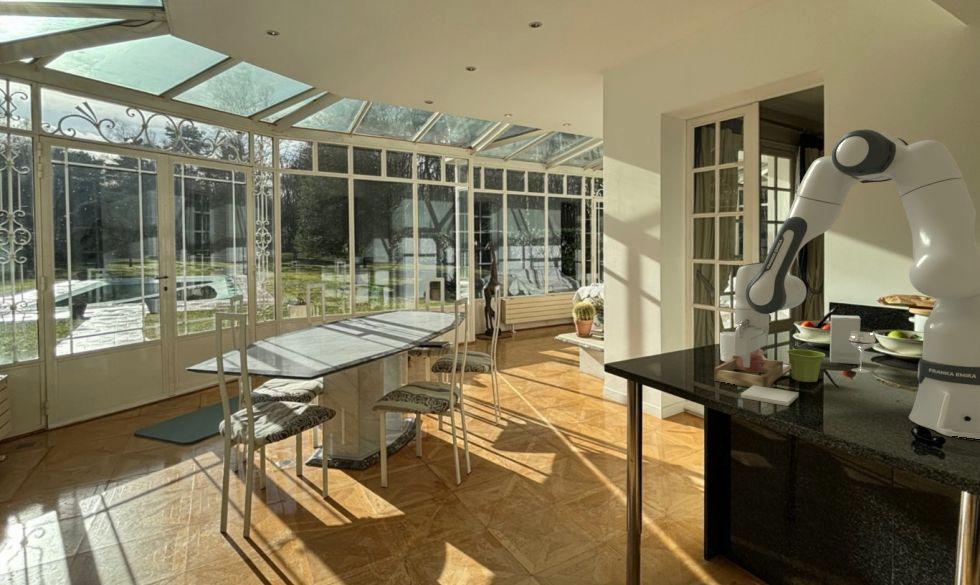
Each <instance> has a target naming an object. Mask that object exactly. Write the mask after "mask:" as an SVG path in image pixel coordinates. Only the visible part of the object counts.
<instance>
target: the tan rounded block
mask: <svg viewBox="0 0 980 585" xmlns="http://www.w3.org/2000/svg"><path fill="white" fill-rule="evenodd" d="M759 355H761V356H760V357H764V356H763V355H764V350H763V349H761V348H760V353H759Z"/></svg>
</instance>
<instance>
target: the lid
mask: <svg viewBox="0 0 980 585" xmlns="http://www.w3.org/2000/svg"><path fill="white" fill-rule="evenodd" d="M788 371H791V362H783V375H785V374H786V373H788Z"/></svg>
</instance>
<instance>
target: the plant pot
mask: <svg viewBox="0 0 980 585" xmlns="http://www.w3.org/2000/svg"><path fill="white" fill-rule="evenodd" d="M786 352H787V354H788V358H789V361H790V362H789V363H791V369H790V371H791V378H792V379H793V380H795V381H799V382H804V383H815V382H818V379H819V374H820V369H821V365H822V362H823V361H824V359H825V357H826V354H825V353H824V352H820V351H817V350H816V351H815V350H809V349H789V350H787V351H786Z"/></svg>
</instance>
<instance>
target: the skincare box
mask: <svg viewBox="0 0 980 585" xmlns="http://www.w3.org/2000/svg"><path fill="white" fill-rule="evenodd" d="M861 320H862V318H861V317H860V316H859V315H839V314H831V315H830V332H829V333H830V336H829V337H830V338H829V340H830V341H829V342H830V343H829V344H830V345H829V360H830V361H829V362H830V363H836V364H848V365H852V364H853V365H860V351H859V350H858V349H857V348H855V347H854V346H853V345H852V344H851V343H850V341H849V336H850V335H851V334H850V332H851V331H861Z"/></svg>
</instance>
